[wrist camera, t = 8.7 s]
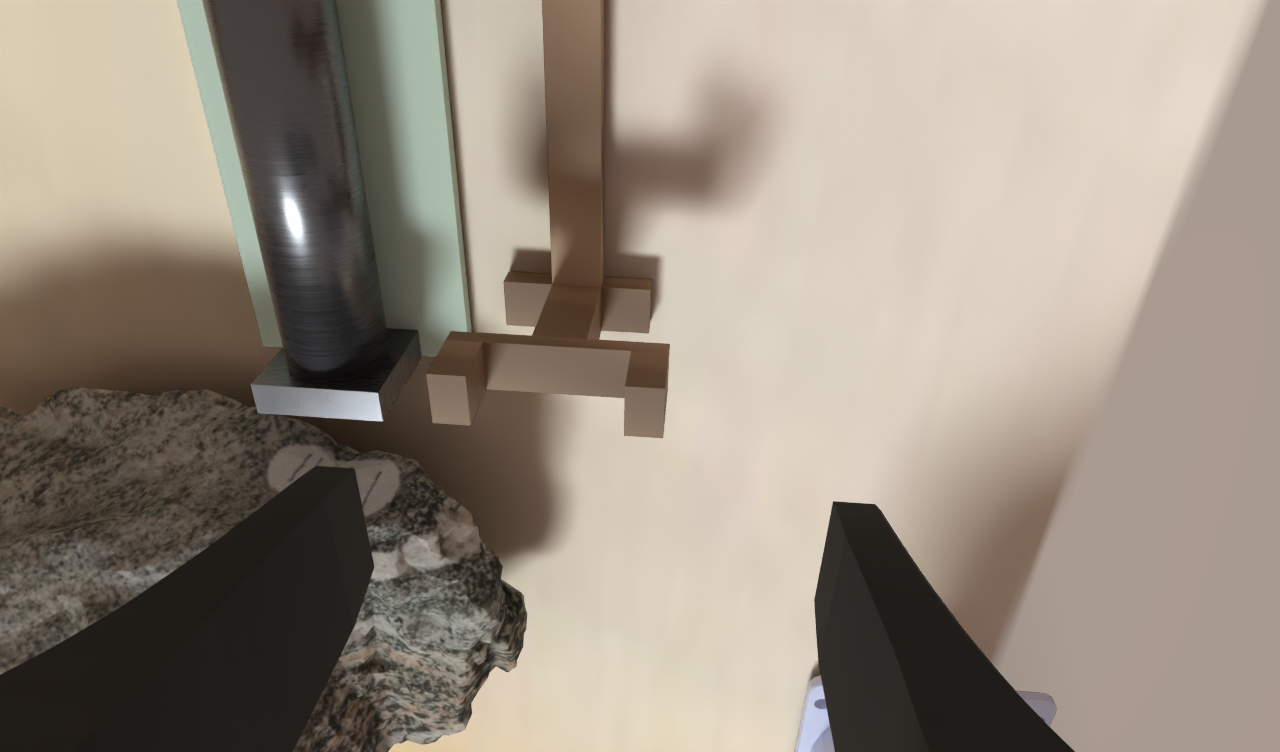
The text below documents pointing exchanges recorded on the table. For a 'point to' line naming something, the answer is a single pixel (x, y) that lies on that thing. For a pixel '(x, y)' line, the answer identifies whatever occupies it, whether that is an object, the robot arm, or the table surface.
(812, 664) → the table surface
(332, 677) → the rock
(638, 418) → the rail stand
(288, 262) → the column with square cap
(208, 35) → the mat
